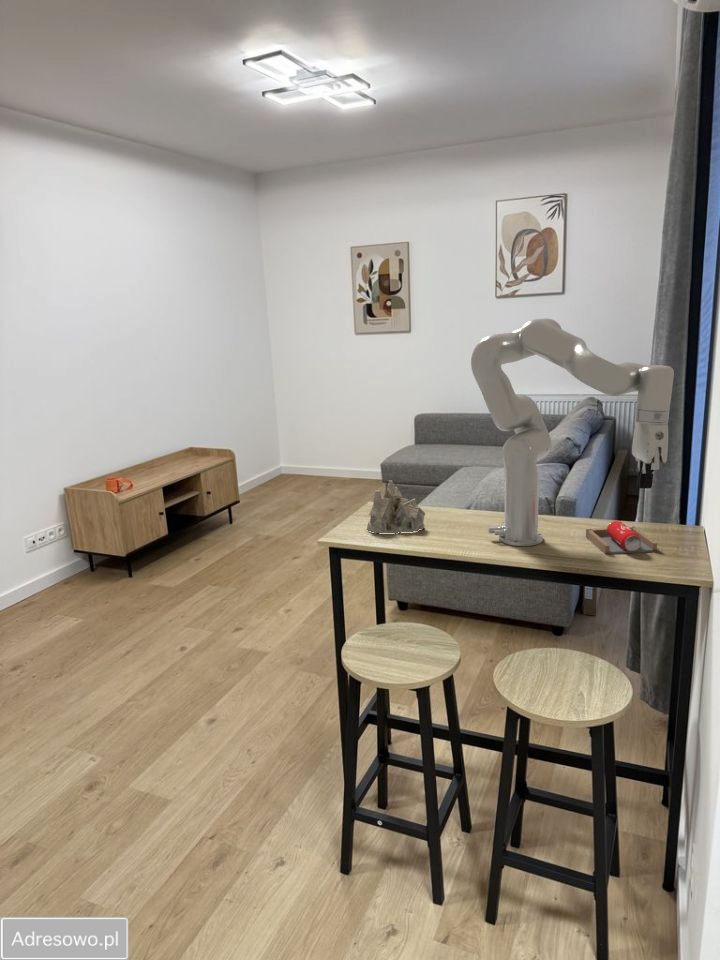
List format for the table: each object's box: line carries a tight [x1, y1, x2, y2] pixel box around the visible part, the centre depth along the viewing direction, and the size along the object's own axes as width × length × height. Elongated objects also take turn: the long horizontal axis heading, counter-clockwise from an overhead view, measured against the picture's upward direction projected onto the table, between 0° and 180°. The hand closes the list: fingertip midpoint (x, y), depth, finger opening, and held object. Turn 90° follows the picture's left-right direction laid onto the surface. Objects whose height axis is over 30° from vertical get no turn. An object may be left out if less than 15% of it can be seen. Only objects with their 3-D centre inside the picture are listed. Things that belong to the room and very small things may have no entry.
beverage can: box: [606, 520, 641, 551], centre depth 180 cm, size 5×5×12 cm
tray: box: [585, 526, 658, 555], centre depth 182 cm, size 14×14×2 cm
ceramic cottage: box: [366, 479, 426, 533], centre depth 203 cm, size 16×16×15 cm
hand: (644, 487), depth 164 cm, fingers closed
